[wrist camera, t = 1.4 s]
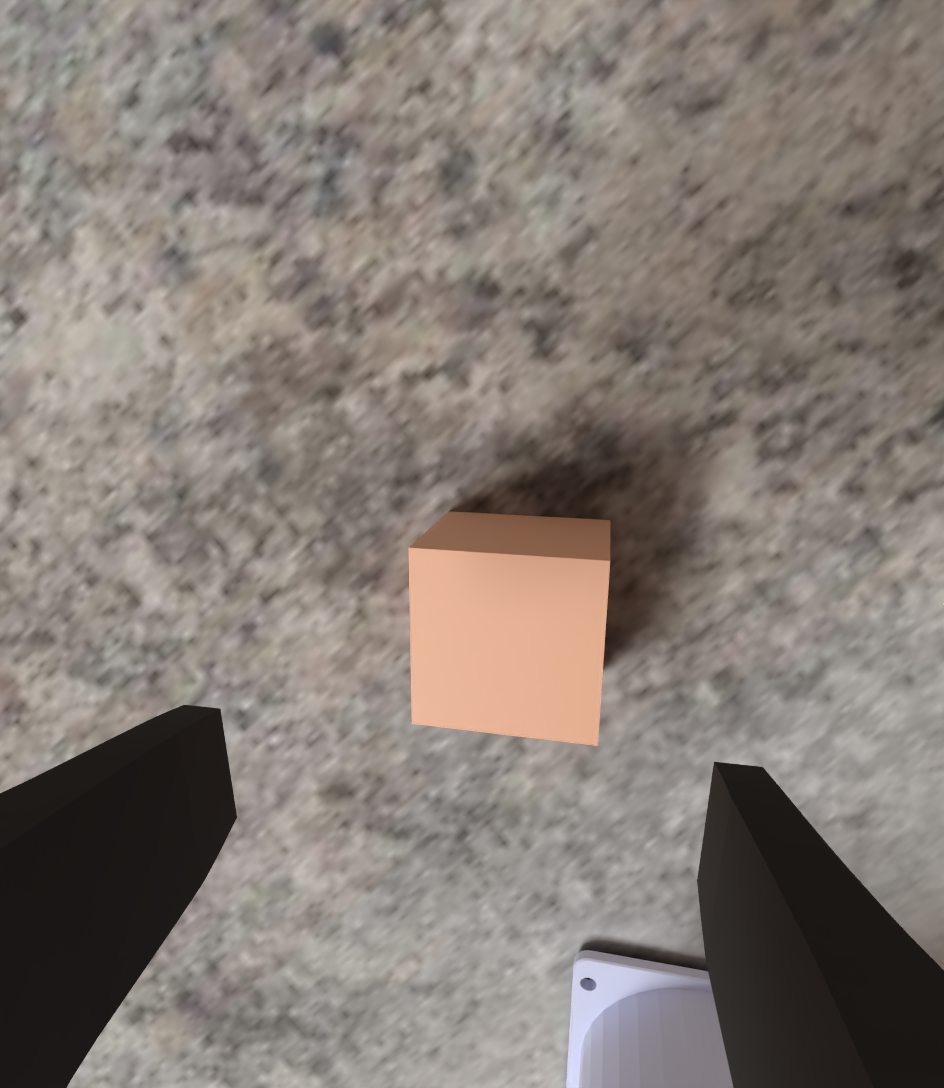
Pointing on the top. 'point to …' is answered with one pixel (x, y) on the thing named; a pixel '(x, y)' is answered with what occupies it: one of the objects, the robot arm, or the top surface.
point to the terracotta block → (510, 625)
